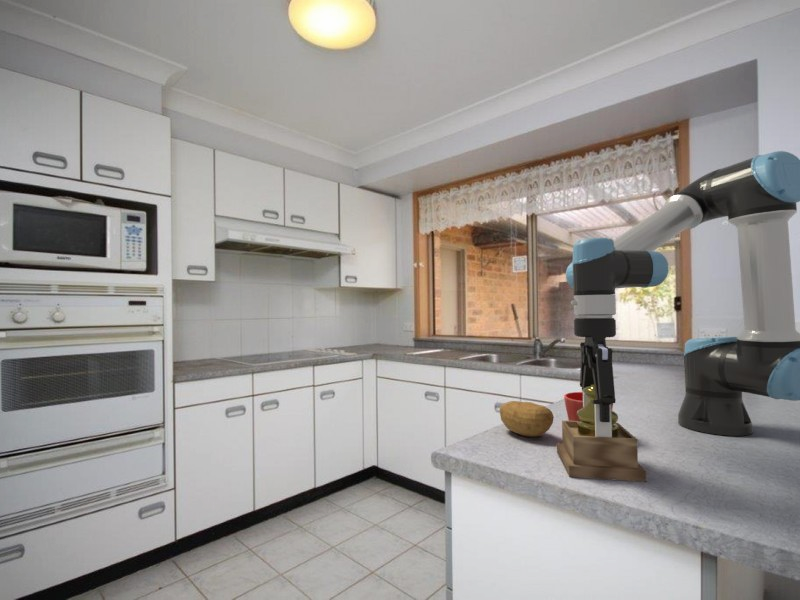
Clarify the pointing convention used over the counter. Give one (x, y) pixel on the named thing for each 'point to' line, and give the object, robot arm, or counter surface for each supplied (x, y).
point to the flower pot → (574, 404)
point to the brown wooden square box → (600, 455)
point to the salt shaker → (592, 416)
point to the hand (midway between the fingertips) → (596, 430)
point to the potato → (526, 418)
